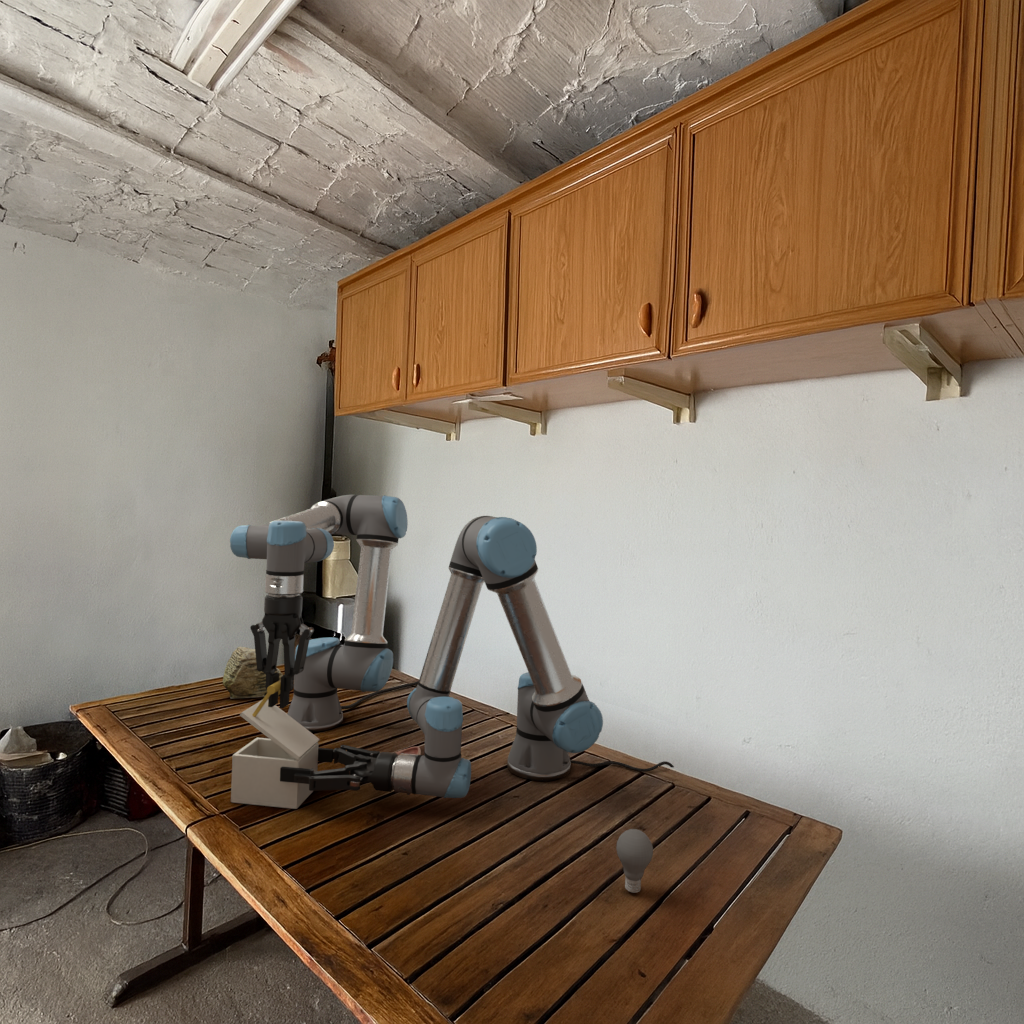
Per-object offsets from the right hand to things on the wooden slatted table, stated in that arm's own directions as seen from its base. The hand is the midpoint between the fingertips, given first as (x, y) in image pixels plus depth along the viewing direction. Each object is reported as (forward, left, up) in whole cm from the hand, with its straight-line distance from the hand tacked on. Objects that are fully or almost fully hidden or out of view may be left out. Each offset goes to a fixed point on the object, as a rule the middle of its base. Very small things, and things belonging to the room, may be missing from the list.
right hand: (292, 763), depth 133 cm
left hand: (+3, -1, +12) cm, 13 cm away
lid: (+3, -1, +7) cm, 8 cm away
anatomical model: (-22, -9, -7) cm, 25 cm away
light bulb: (-54, +48, -7) cm, 73 cm away
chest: (+3, -2, -7) cm, 8 cm away
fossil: (+12, -72, -7) cm, 73 cm away
